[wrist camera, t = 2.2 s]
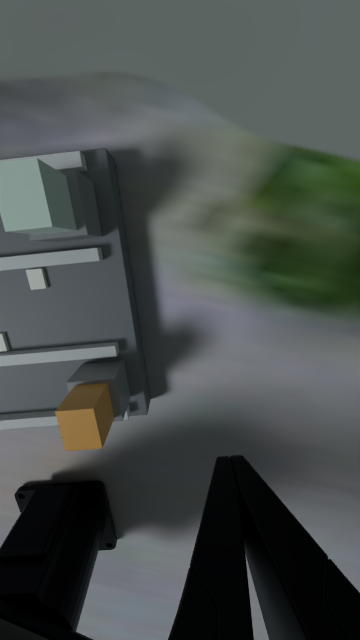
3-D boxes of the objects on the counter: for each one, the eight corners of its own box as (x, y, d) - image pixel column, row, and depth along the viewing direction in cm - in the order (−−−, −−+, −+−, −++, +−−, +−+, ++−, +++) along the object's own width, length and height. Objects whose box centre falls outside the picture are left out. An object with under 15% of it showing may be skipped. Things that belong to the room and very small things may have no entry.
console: (150, 399, 16) (145, 421, 14) (-12, 412, 17) (-38, 435, 15) (114, 159, 13) (101, 142, 11) (-95, 183, 13) (-146, 171, 11)
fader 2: (130, 397, 15) (112, 451, 11) (90, 401, 15) (58, 455, 11) (124, 360, 14) (101, 403, 10) (81, 364, 14) (44, 408, 10)
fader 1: (102, 236, 12) (65, 231, 8) (54, 241, 12) (-5, 239, 8) (92, 181, 11) (48, 149, 8) (41, 187, 12) (-28, 157, 8)
